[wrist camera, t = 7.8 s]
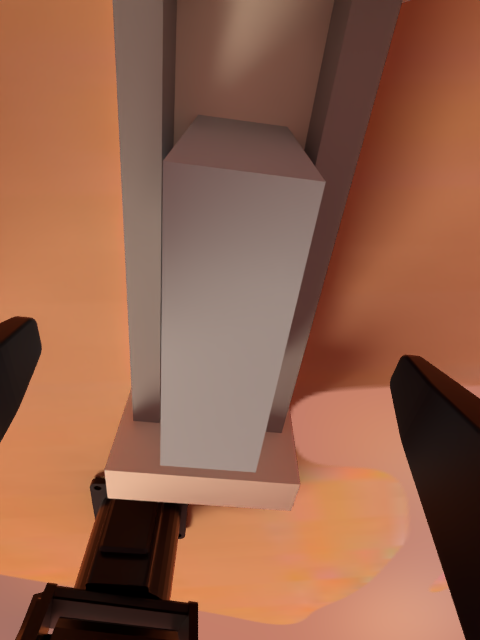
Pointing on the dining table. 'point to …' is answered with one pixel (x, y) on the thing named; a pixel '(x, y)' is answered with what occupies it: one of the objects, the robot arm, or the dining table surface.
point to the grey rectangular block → (229, 284)
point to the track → (246, 105)
